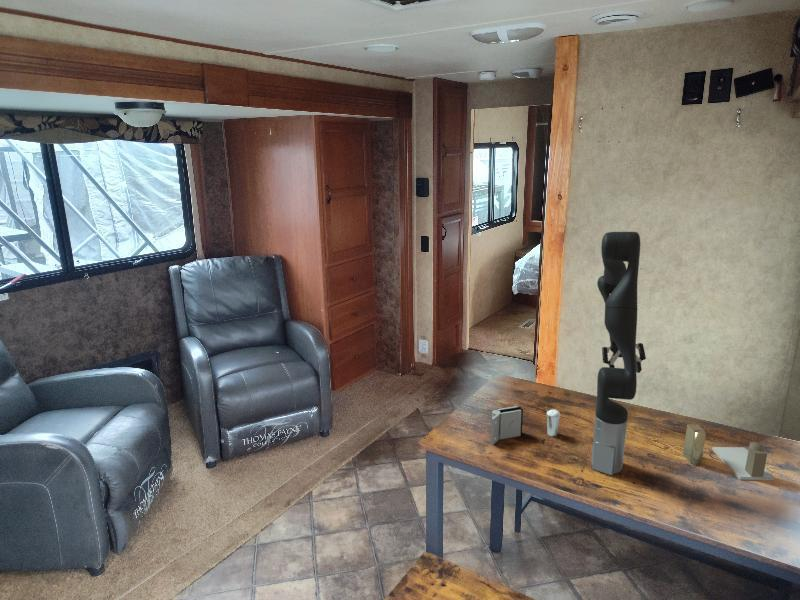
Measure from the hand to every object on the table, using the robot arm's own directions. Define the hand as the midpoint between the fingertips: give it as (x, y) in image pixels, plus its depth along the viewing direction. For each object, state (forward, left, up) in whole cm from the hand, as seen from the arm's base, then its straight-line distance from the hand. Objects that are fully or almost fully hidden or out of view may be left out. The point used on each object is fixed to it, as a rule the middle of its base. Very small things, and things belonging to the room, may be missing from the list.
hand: (626, 373), depth 191 cm
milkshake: (-24, +17, -19) cm, 35 cm away
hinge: (-36, +29, -19) cm, 50 cm away
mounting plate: (-6, -39, -19) cm, 43 cm away
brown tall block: (-12, -26, -19) cm, 34 cm away
